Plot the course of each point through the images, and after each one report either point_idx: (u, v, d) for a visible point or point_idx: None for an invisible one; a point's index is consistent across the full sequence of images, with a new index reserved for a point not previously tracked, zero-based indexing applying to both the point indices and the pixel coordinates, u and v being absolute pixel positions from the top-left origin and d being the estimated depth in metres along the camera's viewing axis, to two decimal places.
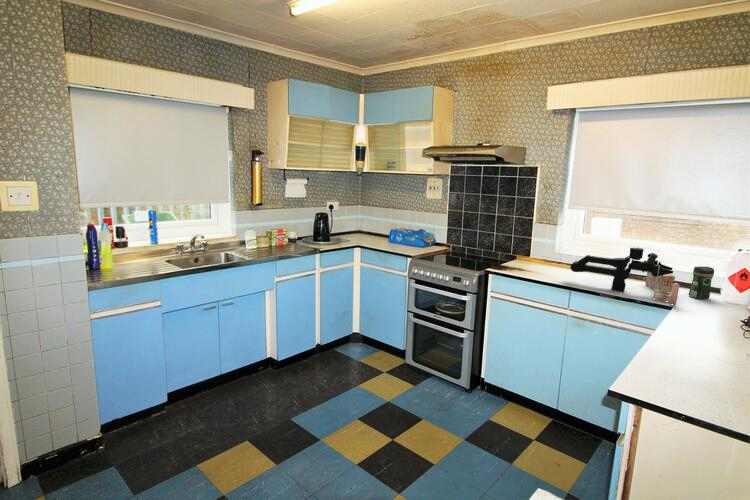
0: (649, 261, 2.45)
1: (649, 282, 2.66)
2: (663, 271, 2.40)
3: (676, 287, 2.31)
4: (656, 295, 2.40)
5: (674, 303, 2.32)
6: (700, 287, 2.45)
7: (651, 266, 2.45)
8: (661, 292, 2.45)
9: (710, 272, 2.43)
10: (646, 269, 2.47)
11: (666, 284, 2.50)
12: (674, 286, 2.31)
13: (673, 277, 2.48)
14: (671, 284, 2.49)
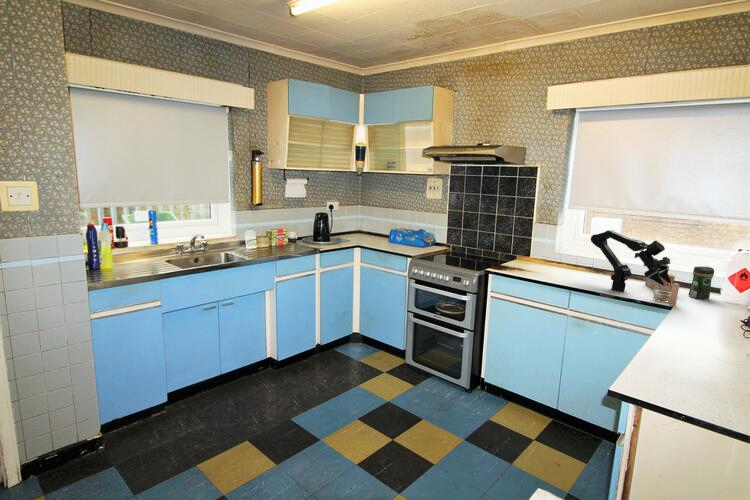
0: (657, 262, 2.36)
1: (649, 282, 2.67)
2: (656, 278, 2.34)
3: (676, 287, 2.31)
4: (656, 295, 2.40)
5: (674, 303, 2.32)
6: (700, 287, 2.45)
7: (654, 267, 2.37)
8: (661, 292, 2.45)
9: (710, 272, 2.43)
10: (648, 266, 2.40)
11: (666, 284, 2.50)
12: (674, 286, 2.31)
13: (673, 277, 2.49)
14: (671, 284, 2.50)
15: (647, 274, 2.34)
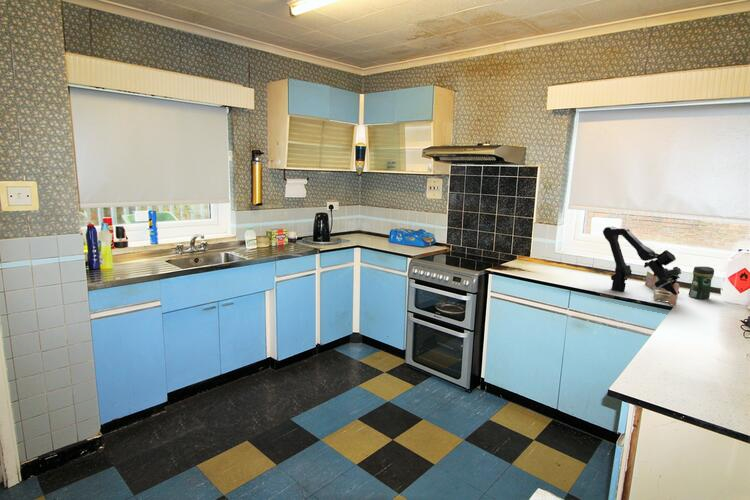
0: (667, 272, 2.32)
1: (649, 282, 2.67)
2: (669, 287, 2.32)
3: (676, 287, 2.31)
4: (656, 295, 2.40)
5: (674, 303, 2.32)
6: (700, 287, 2.45)
7: (664, 277, 2.34)
8: (661, 292, 2.45)
9: (710, 272, 2.43)
10: (658, 275, 2.36)
11: None
12: (674, 286, 2.31)
13: None
14: None
15: (657, 284, 2.31)
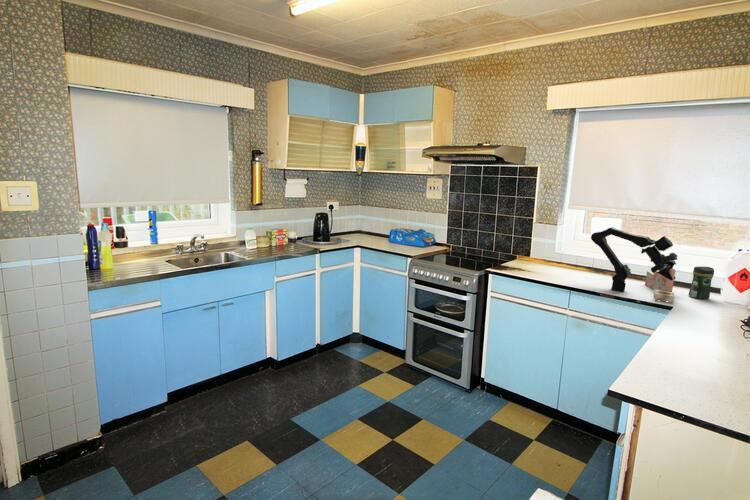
0: (663, 258, 2.36)
1: (649, 282, 2.67)
2: (665, 273, 2.36)
3: (672, 272, 2.34)
4: (656, 295, 2.40)
5: (670, 288, 2.36)
6: (700, 287, 2.45)
7: (660, 262, 2.37)
8: (661, 292, 2.45)
9: (710, 272, 2.43)
10: (654, 261, 2.40)
11: None
12: (670, 272, 2.35)
13: None
14: None
15: (653, 270, 2.34)
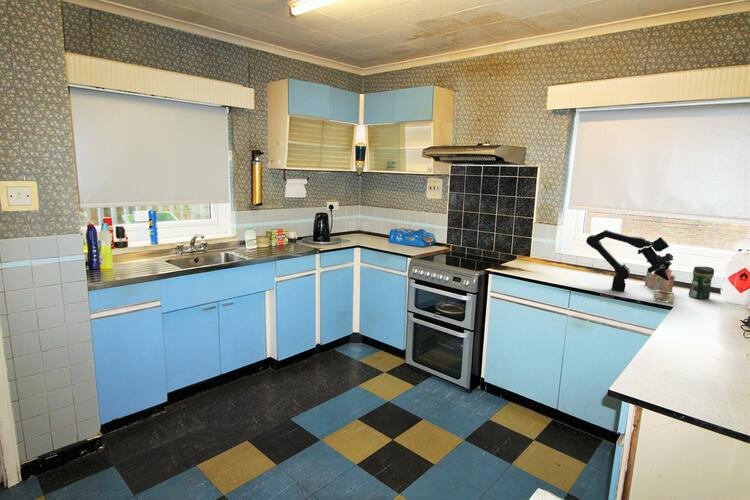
0: (660, 258, 2.40)
1: (649, 282, 2.67)
2: (661, 273, 2.39)
3: (668, 273, 2.38)
4: (656, 295, 2.40)
5: (666, 288, 2.40)
6: (700, 287, 2.45)
7: (657, 263, 2.41)
8: (661, 292, 2.45)
9: (710, 272, 2.43)
10: (651, 262, 2.43)
11: None
12: (666, 272, 2.39)
13: (673, 277, 2.49)
14: (671, 284, 2.50)
15: (650, 270, 2.38)
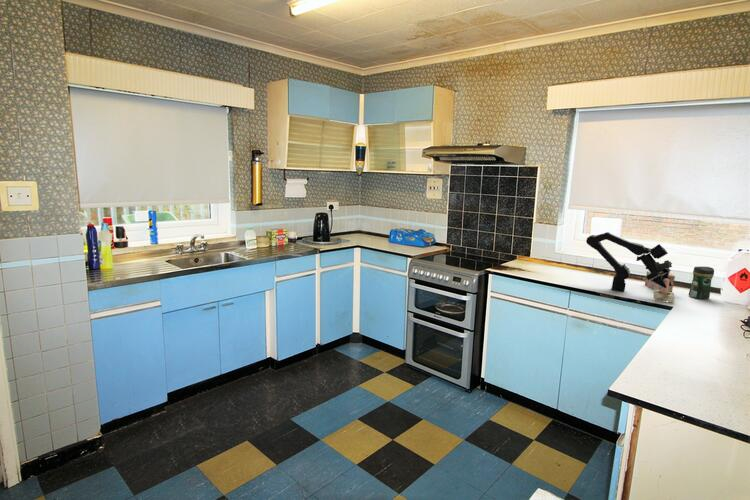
0: (658, 265, 2.41)
1: (649, 282, 2.67)
2: (659, 280, 2.39)
3: (666, 282, 2.39)
4: (656, 295, 2.40)
5: None
6: (700, 287, 2.45)
7: (655, 270, 2.42)
8: None
9: (710, 272, 2.43)
10: (650, 269, 2.44)
11: None
12: (664, 281, 2.40)
13: (673, 277, 2.49)
14: (671, 284, 2.50)
15: (649, 277, 2.39)
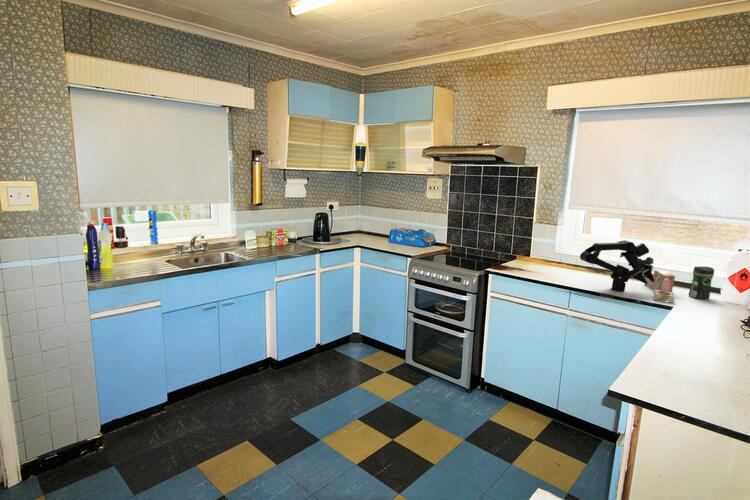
0: (640, 262, 2.48)
1: (649, 282, 2.67)
2: (640, 277, 2.46)
3: (666, 282, 2.39)
4: (656, 295, 2.40)
5: None
6: (700, 287, 2.45)
7: (638, 266, 2.49)
8: None
9: (710, 272, 2.43)
10: (632, 265, 2.52)
11: None
12: (664, 281, 2.40)
13: (673, 277, 2.49)
14: (671, 284, 2.50)
15: (631, 273, 2.46)
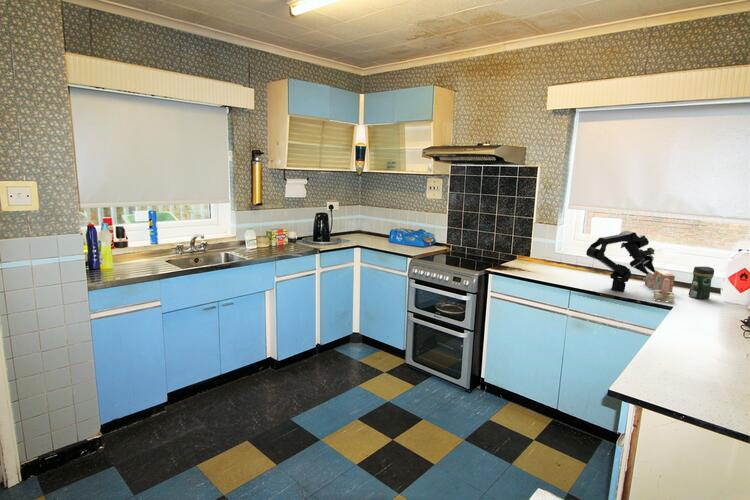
0: (641, 252, 2.47)
1: (649, 282, 2.67)
2: (641, 267, 2.45)
3: (666, 282, 2.39)
4: (656, 295, 2.40)
5: None
6: (700, 287, 2.45)
7: (639, 257, 2.49)
8: None
9: (710, 272, 2.43)
10: (633, 256, 2.51)
11: None
12: (664, 281, 2.40)
13: (673, 277, 2.50)
14: (671, 284, 2.51)
15: (632, 264, 2.46)
